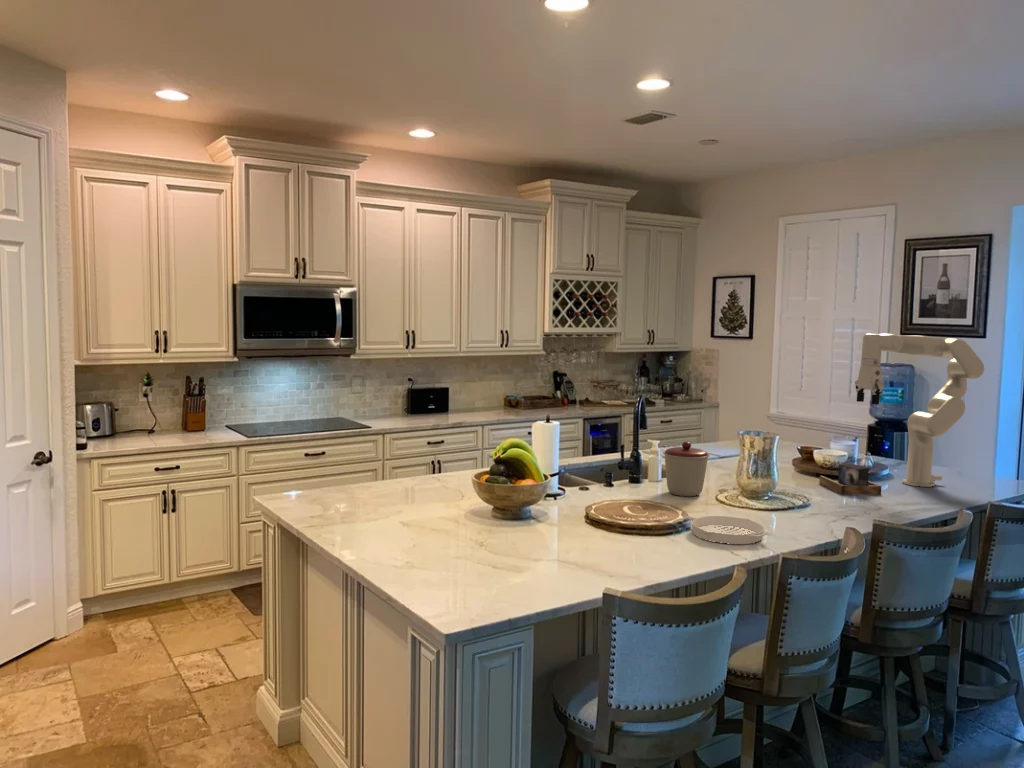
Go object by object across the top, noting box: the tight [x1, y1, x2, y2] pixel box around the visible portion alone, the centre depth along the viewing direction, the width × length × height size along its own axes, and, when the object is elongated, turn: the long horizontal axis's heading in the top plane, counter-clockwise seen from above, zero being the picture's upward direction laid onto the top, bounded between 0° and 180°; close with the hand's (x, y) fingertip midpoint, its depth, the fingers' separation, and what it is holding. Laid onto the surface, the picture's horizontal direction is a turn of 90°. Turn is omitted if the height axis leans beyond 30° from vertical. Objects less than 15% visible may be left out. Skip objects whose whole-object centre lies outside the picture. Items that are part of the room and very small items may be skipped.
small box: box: [837, 462, 870, 486], centre depth 322 cm, size 11×6×10 cm, turn 25°
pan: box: [686, 515, 769, 545], centre depth 257 cm, size 24×41×4 cm, turn 42°
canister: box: [662, 441, 710, 497], centre depth 309 cm, size 18×18×21 cm
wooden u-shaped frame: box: [819, 475, 882, 495], centre depth 324 cm, size 16×20×4 cm
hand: (867, 402), depth 331 cm, fingers open, 9 cm apart
